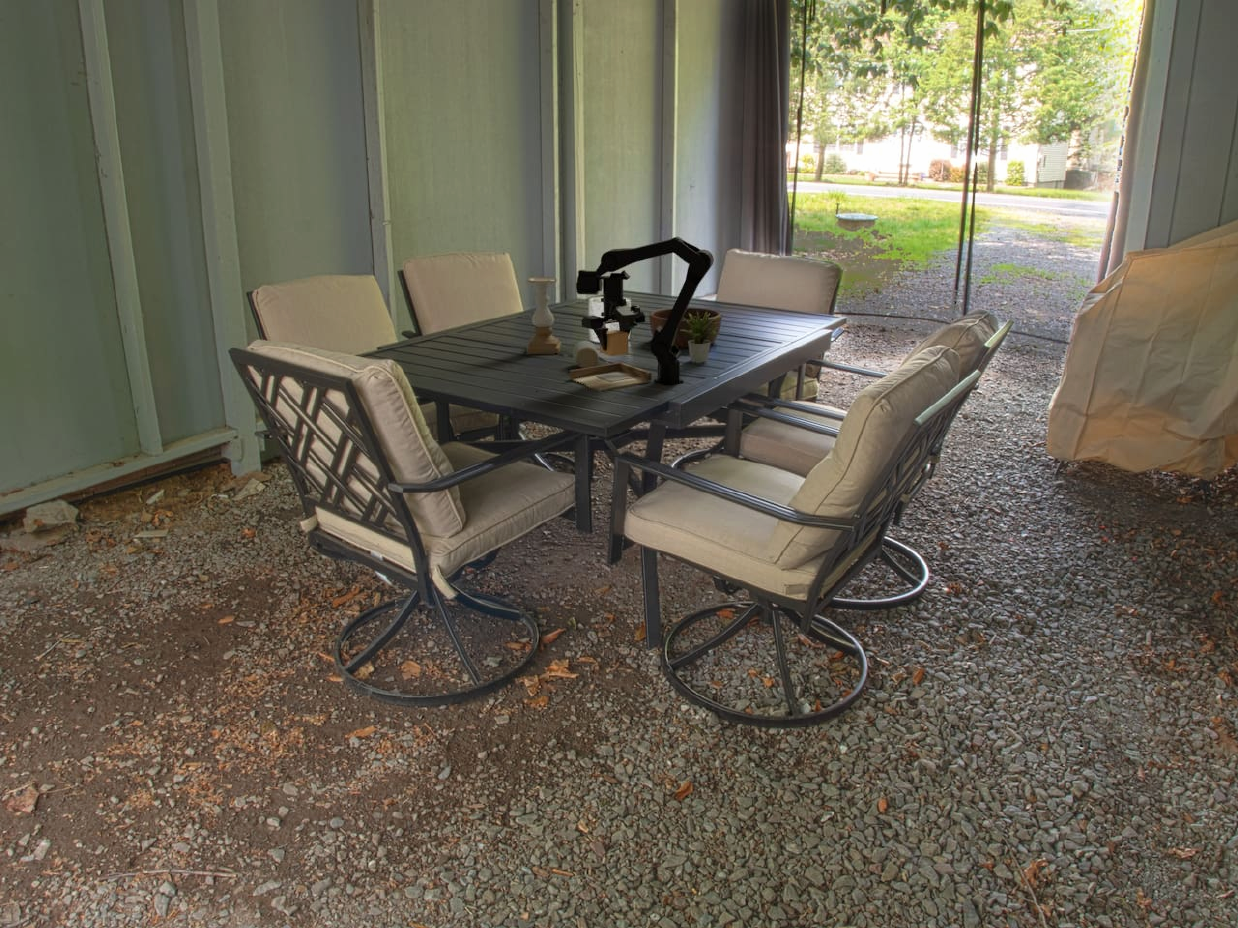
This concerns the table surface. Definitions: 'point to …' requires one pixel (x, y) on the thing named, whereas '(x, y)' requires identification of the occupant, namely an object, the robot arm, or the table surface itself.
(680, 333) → the wooden bowl
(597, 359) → the ceramic mug
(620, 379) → the arena
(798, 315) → the table surface
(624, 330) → the robot arm
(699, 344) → the house plant
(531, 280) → the candle holder
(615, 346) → the cube
